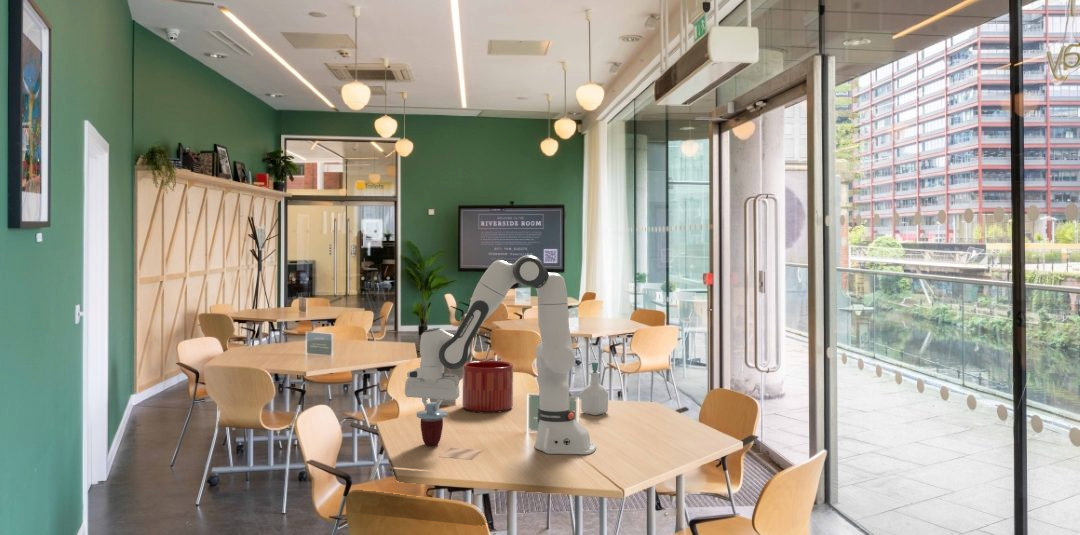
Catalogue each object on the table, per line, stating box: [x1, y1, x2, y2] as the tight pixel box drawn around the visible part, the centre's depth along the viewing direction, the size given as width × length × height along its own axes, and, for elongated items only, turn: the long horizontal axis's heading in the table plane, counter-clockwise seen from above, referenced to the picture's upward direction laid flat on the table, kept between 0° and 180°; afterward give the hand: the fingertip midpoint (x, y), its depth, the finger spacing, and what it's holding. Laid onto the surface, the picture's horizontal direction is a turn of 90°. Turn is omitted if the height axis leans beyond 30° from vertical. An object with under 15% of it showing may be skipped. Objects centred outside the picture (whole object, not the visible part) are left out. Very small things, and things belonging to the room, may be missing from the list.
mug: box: [420, 418, 444, 447], centre depth 262 cm, size 11×8×10 cm
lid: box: [416, 401, 448, 420], centre depth 262 cm, size 11×11×4 cm
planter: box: [462, 360, 514, 413], centre depth 329 cm, size 23×23×20 cm
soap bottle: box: [580, 361, 609, 416], centre depth 321 cm, size 10×10×23 cm
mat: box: [438, 447, 484, 461], centre depth 252 cm, size 12×12×1 cm
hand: (431, 410), depth 262 cm, fingers closed on lid, 2 cm apart
